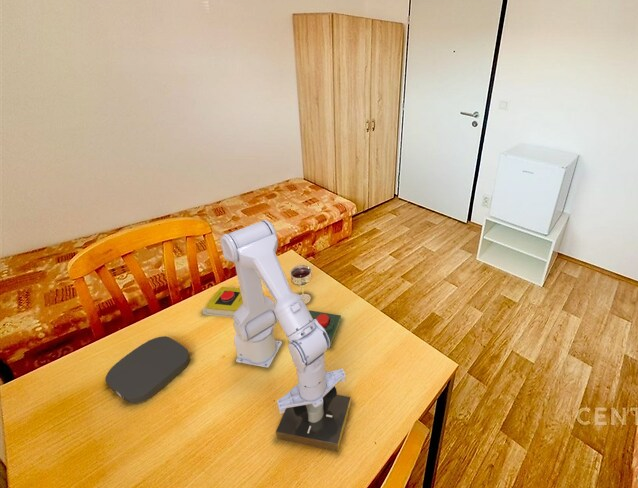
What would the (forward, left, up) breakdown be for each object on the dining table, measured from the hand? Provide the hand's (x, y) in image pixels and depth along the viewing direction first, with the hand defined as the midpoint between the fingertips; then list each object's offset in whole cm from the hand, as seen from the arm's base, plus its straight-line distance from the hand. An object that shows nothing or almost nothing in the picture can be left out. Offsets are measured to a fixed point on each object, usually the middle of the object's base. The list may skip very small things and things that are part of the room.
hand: (314, 412), depth 73 cm
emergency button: (-39, +28, -4) cm, 48 cm away
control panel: (0, 0, -3) cm, 3 cm away
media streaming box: (-46, +4, -4) cm, 46 cm away
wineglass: (-18, +35, -4) cm, 40 cm away
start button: (-7, +24, 0) cm, 25 cm away
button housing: (-9, +24, -3) cm, 26 cm away
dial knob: (0, 0, 0) cm, 0 cm away
